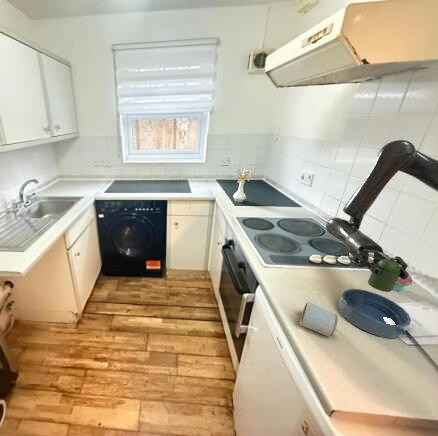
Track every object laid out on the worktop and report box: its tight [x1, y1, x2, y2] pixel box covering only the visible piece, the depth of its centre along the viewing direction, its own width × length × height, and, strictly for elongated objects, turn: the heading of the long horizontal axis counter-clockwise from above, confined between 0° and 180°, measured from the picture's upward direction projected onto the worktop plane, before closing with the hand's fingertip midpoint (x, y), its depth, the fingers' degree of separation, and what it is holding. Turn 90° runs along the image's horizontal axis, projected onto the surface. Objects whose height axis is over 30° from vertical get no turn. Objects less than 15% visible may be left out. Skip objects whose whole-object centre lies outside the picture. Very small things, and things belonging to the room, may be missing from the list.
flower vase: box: [232, 167, 253, 203], centre depth 180 cm, size 13×18×25 cm
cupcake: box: [392, 274, 413, 292], centre depth 89 cm, size 9×8×12 cm
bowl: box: [337, 288, 412, 339], centre depth 76 cm, size 16×16×5 cm
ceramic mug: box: [299, 301, 339, 337], centre depth 73 cm, size 11×8×8 cm
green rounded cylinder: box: [367, 257, 401, 293], centre depth 72 cm, size 6×6×10 cm
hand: (392, 274), depth 69 cm, fingers closed on green rounded cylinder, 5 cm apart
